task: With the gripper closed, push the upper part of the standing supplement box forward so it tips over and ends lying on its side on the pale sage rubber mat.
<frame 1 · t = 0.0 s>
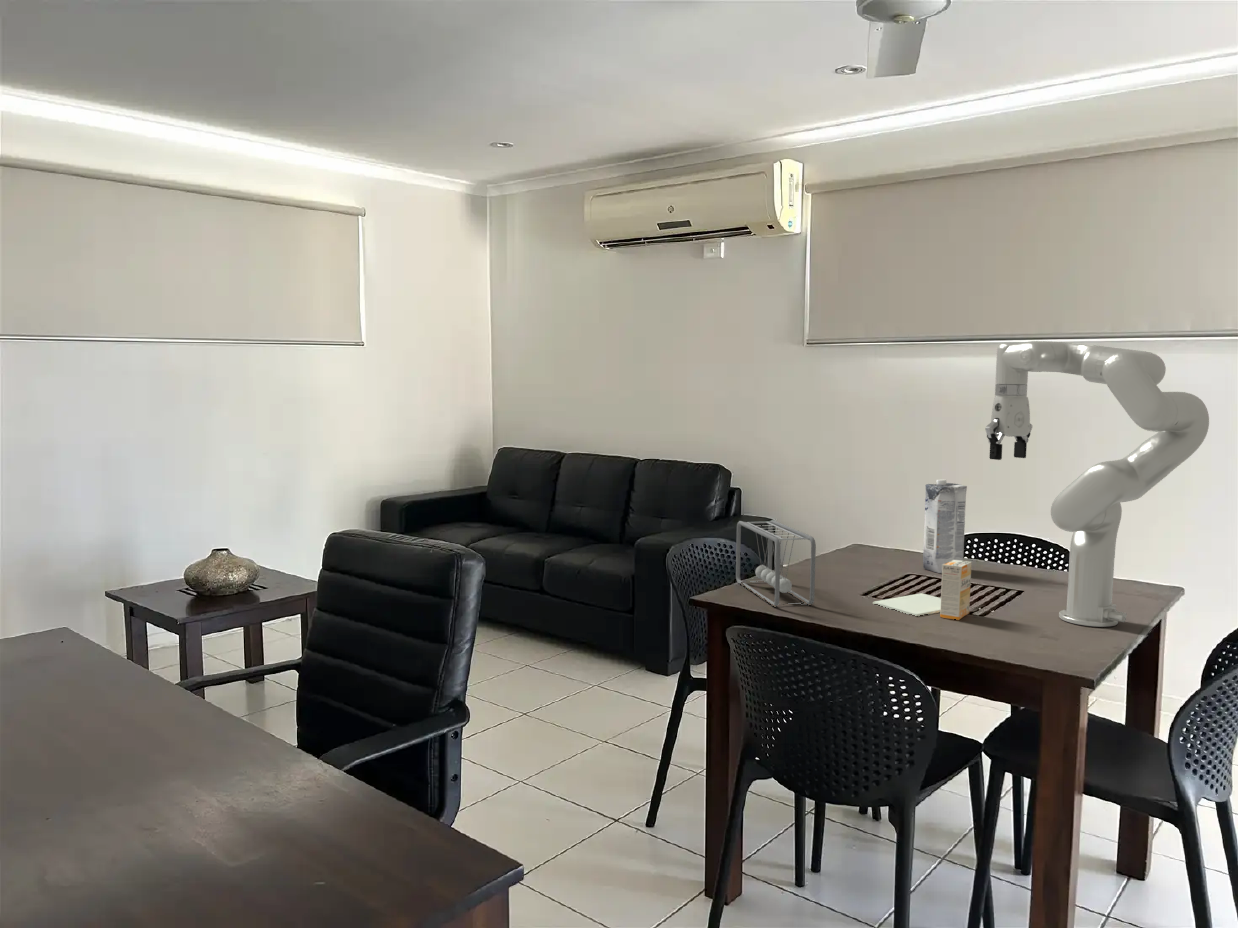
hand: (1007, 458, 237), 37 cm above the table, tool pointing down, fingers open, 9 cm apart
supplement box: (954, 616, 224), on the table
juice carton: (942, 570, 275), on the table
mat: (919, 605, 234), on the table
newton's cradle: (772, 595, 245), on the table
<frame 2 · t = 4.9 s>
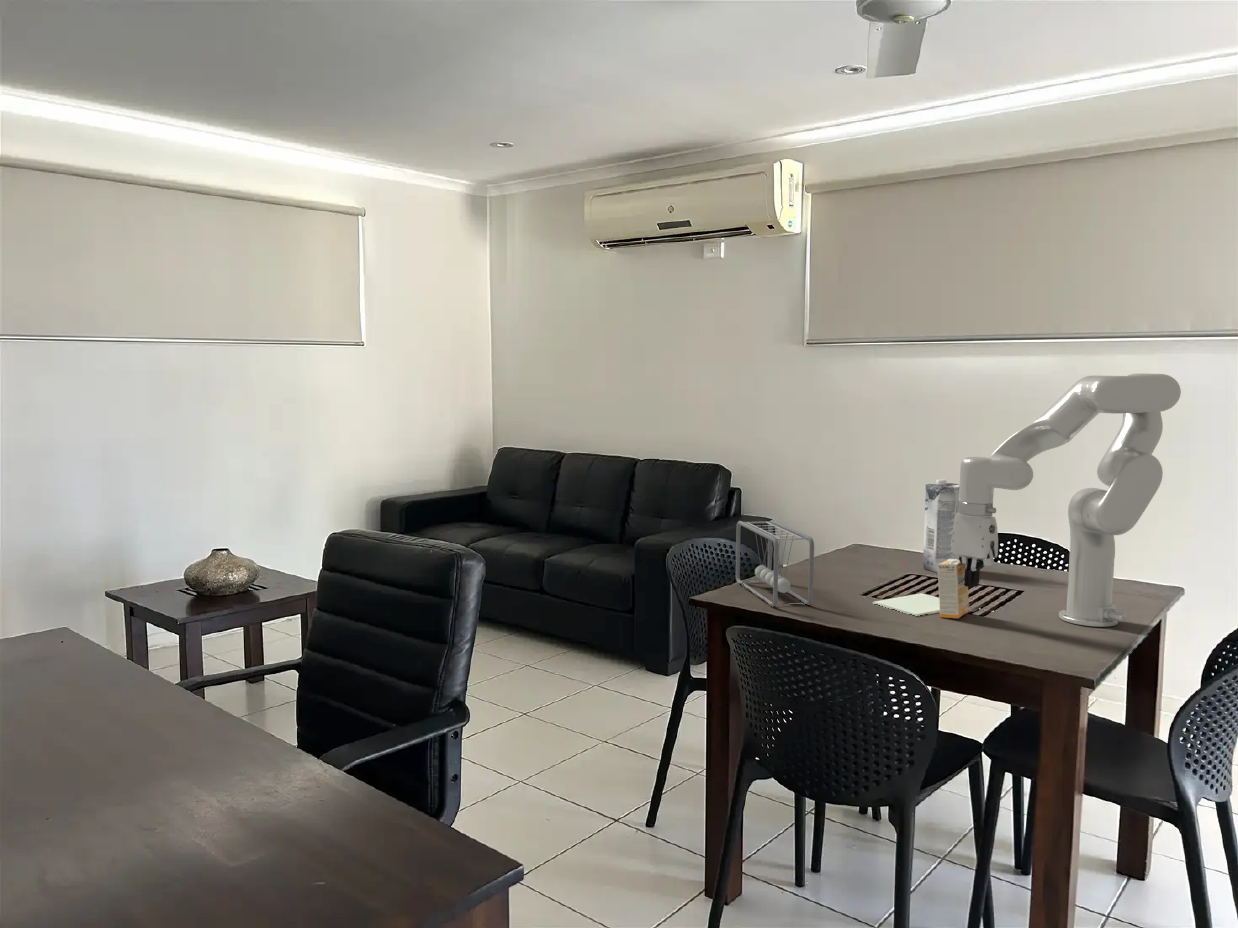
hand: (971, 585, 219), 8 cm above the table, tool pointing down, fingers closed
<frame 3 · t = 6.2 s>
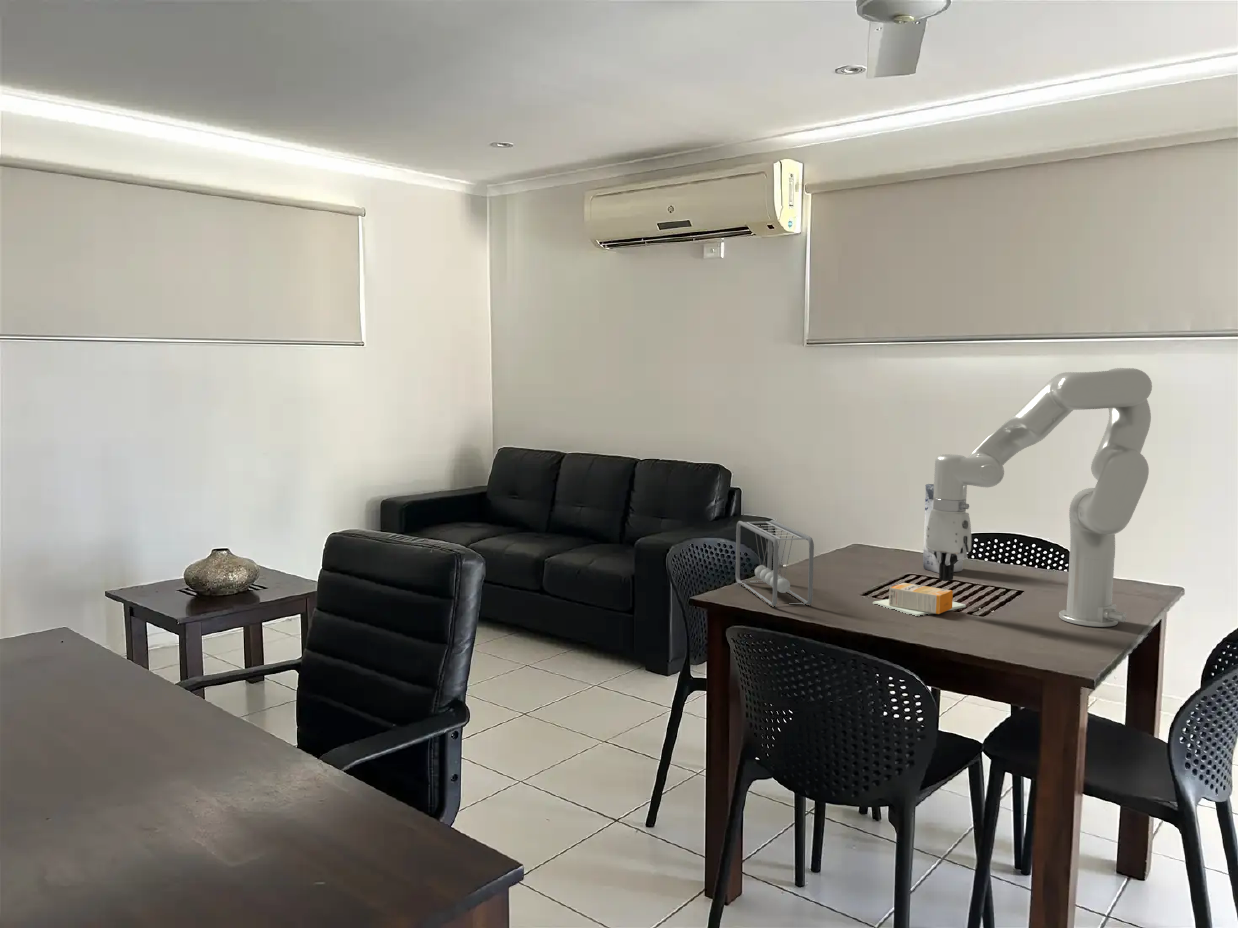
hand: (945, 579, 226), 8 cm above the table, tool pointing down, fingers closed
supplement box: (947, 602, 225), point 3 cm above the table, touching mat
everything else where it was.
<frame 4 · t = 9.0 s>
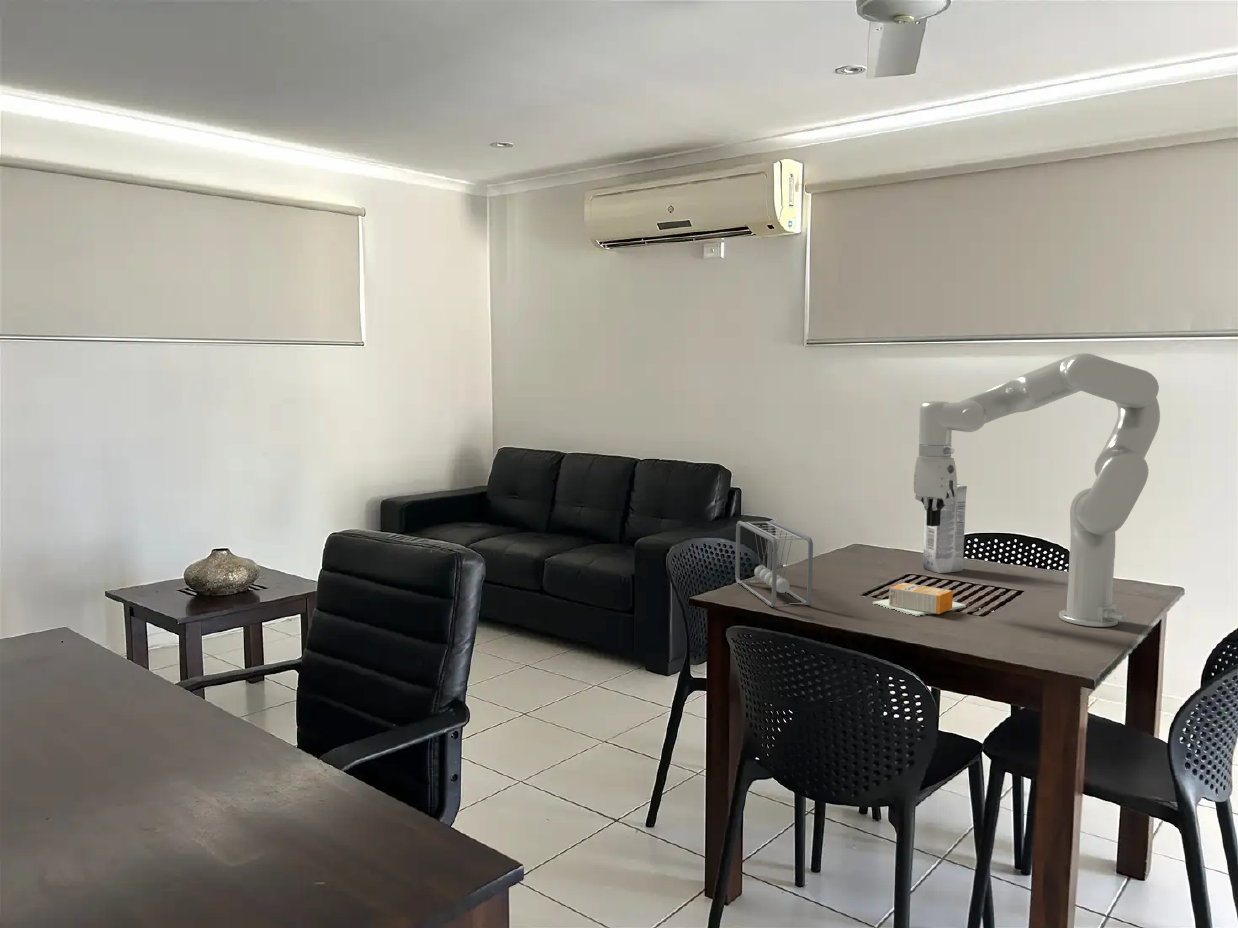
hand: (933, 525, 229), 21 cm above the table, tool pointing down, fingers closed
nothing on the table moved.
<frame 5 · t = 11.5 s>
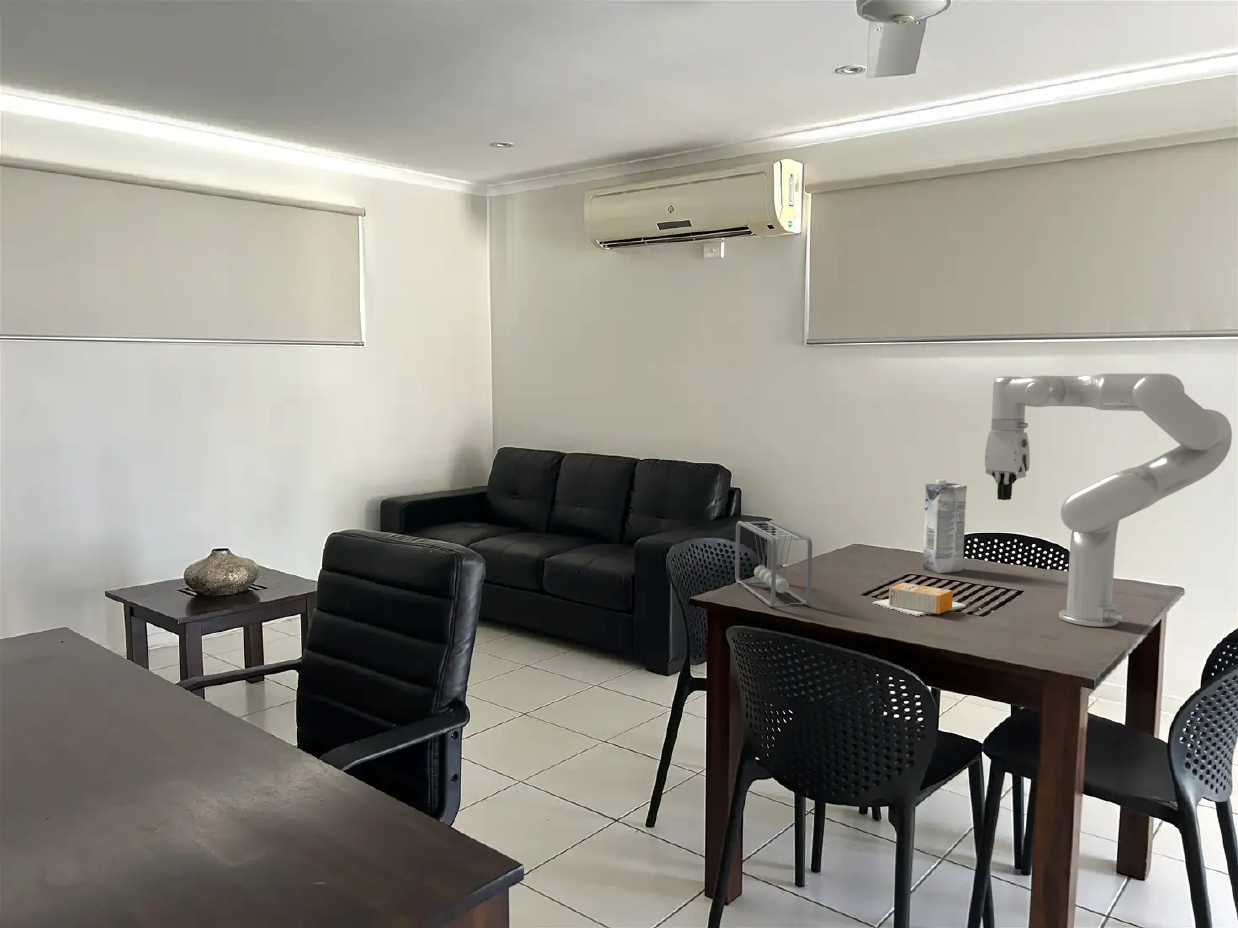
hand: (1004, 499, 232), 27 cm above the table, tool pointing down, fingers closed
nothing on the table moved.
at the end: supplement box tilted 90°; supplement box touching mat; supplement box inside the target area (2.8 cm from its centre), point 3.0 cm above the table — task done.
